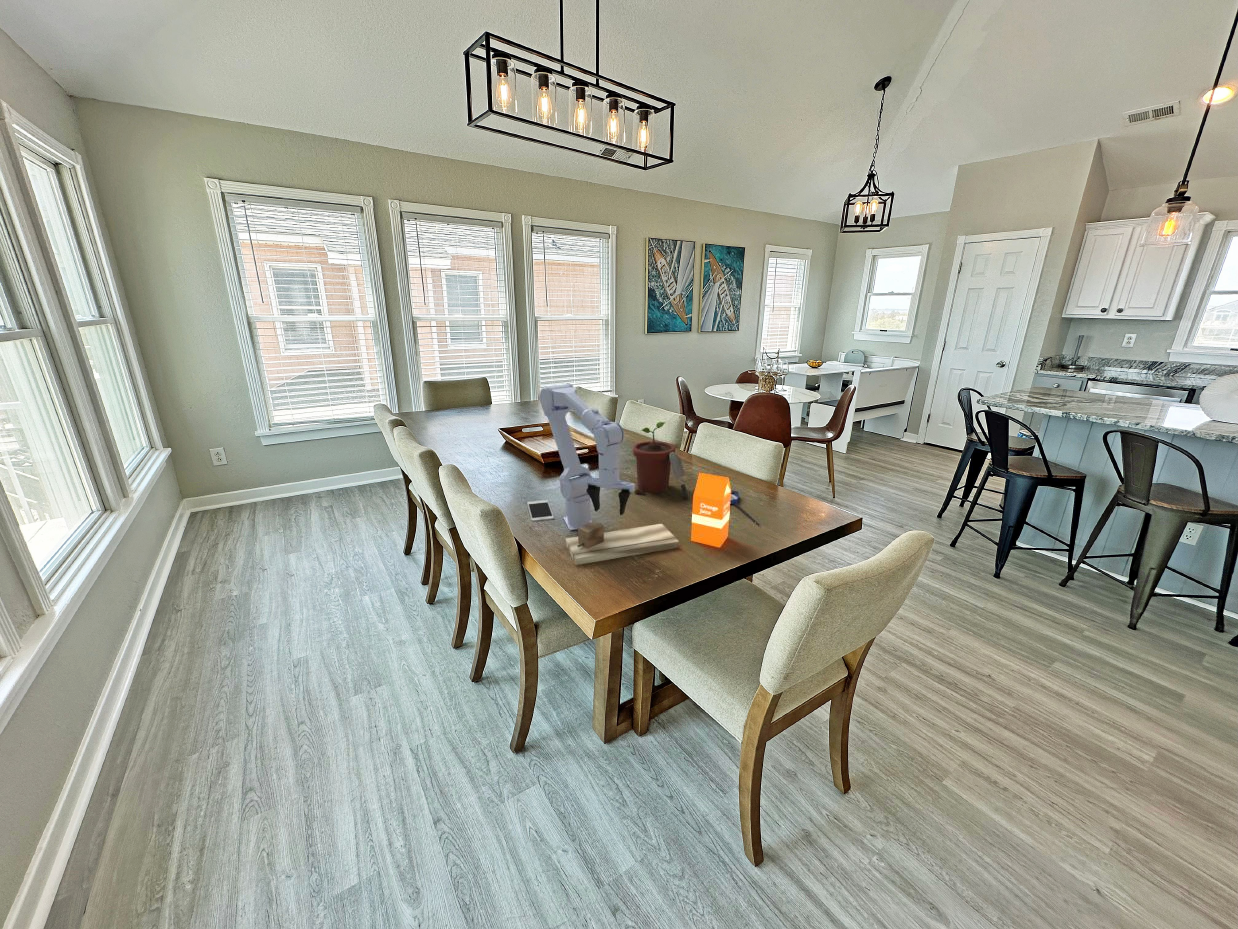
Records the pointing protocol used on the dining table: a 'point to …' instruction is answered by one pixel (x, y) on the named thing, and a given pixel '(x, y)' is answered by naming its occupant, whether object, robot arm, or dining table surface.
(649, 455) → the potted plant
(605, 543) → the pine board
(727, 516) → the orange juice
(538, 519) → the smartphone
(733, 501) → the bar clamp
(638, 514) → the dining table surface
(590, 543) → the block
